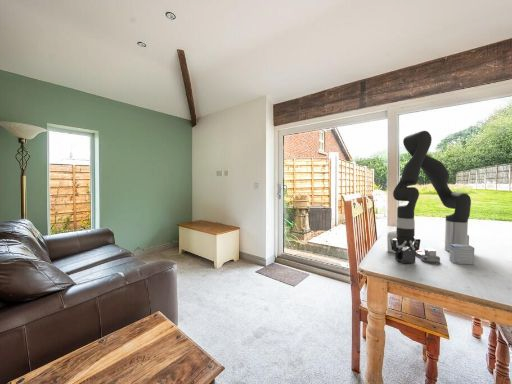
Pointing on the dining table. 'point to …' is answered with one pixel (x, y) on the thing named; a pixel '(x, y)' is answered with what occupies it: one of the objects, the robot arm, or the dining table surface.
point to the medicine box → (461, 254)
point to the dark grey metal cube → (407, 255)
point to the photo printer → (390, 236)
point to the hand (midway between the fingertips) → (405, 258)
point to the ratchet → (428, 256)
